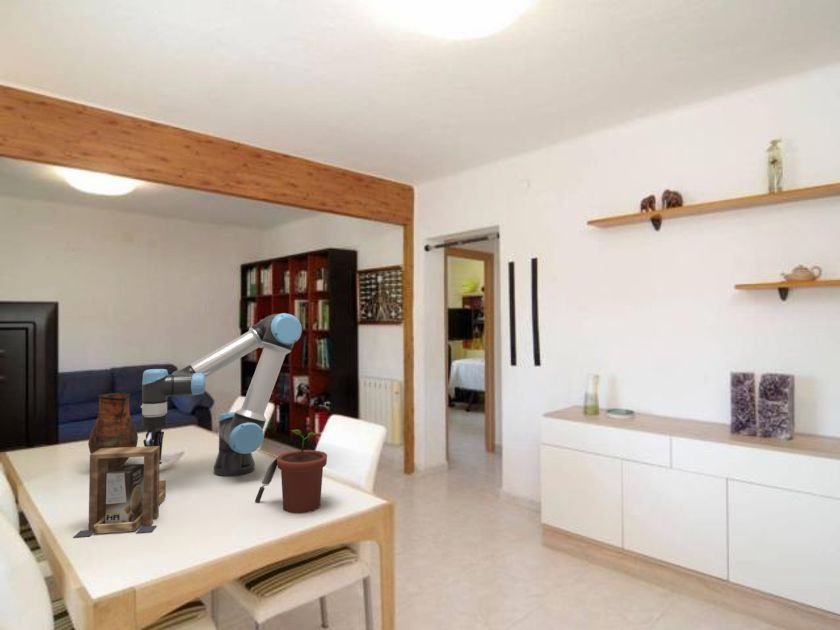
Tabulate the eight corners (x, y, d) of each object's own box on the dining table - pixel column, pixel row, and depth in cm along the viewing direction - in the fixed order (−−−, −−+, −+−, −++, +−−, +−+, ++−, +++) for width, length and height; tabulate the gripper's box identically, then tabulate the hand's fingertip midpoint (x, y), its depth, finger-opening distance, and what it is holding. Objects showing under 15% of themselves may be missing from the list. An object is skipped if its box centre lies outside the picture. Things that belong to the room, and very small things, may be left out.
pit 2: (156, 526, 139) (156, 525, 139) (151, 532, 135) (151, 531, 135) (141, 527, 138) (141, 526, 138) (136, 533, 134) (136, 532, 134)
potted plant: (286, 522, 143) (287, 436, 143) (254, 502, 159) (255, 425, 159) (337, 506, 155) (337, 428, 155) (302, 489, 171) (303, 418, 171)
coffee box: (128, 529, 137) (129, 472, 137) (104, 530, 136) (105, 473, 137) (143, 516, 146) (144, 463, 146) (121, 517, 146) (122, 463, 146)
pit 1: (96, 530, 136) (96, 529, 136) (89, 536, 132) (89, 535, 132) (80, 531, 135) (80, 530, 135) (73, 538, 131) (73, 536, 131)
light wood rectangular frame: (165, 497, 161) (165, 479, 161) (135, 530, 135) (135, 508, 135) (130, 499, 159) (130, 481, 159) (93, 533, 133) (93, 511, 133)
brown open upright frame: (158, 516, 146) (159, 446, 147) (150, 526, 139) (151, 452, 140) (99, 520, 143) (101, 448, 143) (88, 530, 136) (89, 454, 137)
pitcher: (97, 480, 180) (99, 398, 180) (77, 469, 193) (78, 393, 193) (145, 469, 193) (146, 393, 193) (123, 460, 206) (124, 389, 206)
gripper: (149, 411, 171) (148, 479, 170) (135, 419, 158) (133, 491, 158) (172, 411, 172) (171, 478, 172) (160, 418, 159) (158, 490, 159)
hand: (153, 484), depth 165 cm, fingers closed
